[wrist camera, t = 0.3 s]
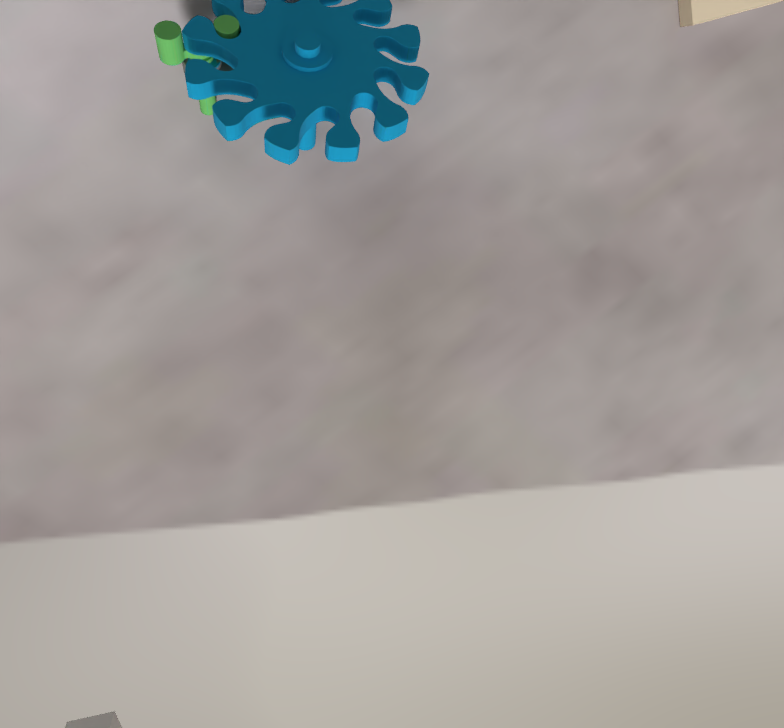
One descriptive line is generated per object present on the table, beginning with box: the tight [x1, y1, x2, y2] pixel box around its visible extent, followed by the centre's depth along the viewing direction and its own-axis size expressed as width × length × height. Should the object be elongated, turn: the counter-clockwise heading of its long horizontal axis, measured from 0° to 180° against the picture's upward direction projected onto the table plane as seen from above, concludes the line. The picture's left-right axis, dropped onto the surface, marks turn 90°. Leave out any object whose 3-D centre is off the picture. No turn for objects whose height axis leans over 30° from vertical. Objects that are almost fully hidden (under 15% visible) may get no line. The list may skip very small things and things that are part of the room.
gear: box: [154, 0, 429, 165], centre depth 31 cm, size 11×6×10 cm
